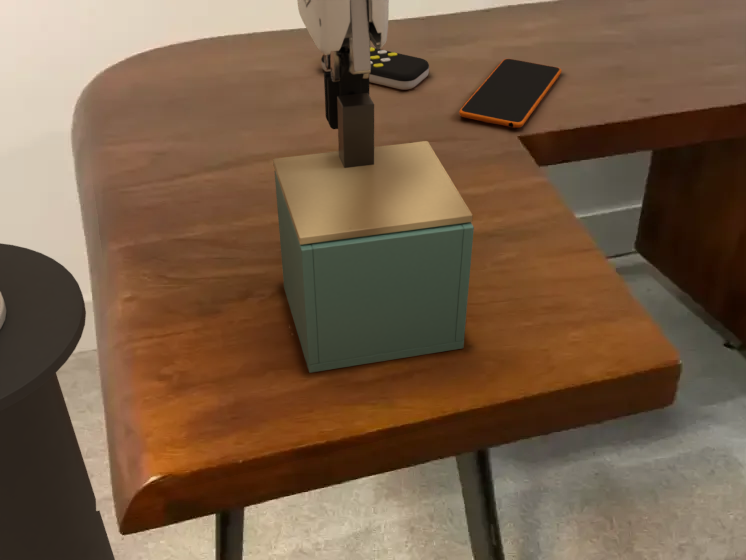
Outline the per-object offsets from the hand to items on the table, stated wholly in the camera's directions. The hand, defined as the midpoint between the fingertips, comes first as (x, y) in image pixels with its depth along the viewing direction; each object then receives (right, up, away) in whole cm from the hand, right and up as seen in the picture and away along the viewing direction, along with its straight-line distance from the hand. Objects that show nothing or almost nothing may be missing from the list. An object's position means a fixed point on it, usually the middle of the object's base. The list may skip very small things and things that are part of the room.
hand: (347, 122), depth 73 cm
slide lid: (+2, -7, -4) cm, 8 cm away
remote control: (+2, +18, +39) cm, 43 cm away
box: (+2, -15, +4) cm, 16 cm away
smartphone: (+18, +14, +35) cm, 41 cm away
